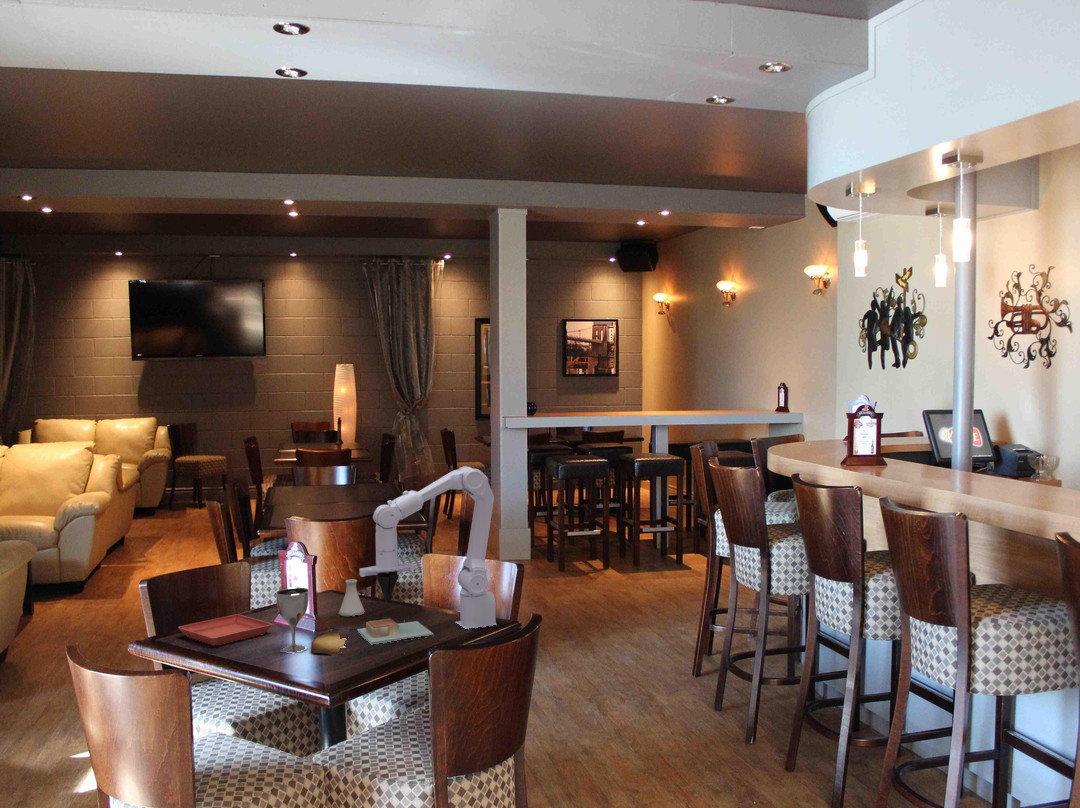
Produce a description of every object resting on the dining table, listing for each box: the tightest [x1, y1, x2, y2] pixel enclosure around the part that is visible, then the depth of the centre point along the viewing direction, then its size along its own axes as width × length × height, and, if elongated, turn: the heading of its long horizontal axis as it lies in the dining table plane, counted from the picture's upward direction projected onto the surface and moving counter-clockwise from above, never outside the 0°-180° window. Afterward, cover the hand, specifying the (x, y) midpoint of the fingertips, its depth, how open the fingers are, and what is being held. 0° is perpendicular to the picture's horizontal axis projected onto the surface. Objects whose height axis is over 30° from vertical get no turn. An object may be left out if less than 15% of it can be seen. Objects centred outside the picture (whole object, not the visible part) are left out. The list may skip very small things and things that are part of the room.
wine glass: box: [275, 587, 310, 652], centre depth 227 cm, size 8×8×15 cm
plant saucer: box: [178, 614, 273, 646], centre depth 240 cm, size 18×18×3 cm
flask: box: [338, 579, 366, 617], centre depth 262 cm, size 7×7×10 cm
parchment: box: [310, 627, 357, 656], centre depth 233 cm, size 25×10×1 cm, turn 4°
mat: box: [356, 620, 434, 646], centre depth 240 cm, size 17×14×1 cm
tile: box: [365, 618, 399, 638], centre depth 238 cm, size 3×7×7 cm
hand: (387, 600), depth 239 cm, fingers closed
